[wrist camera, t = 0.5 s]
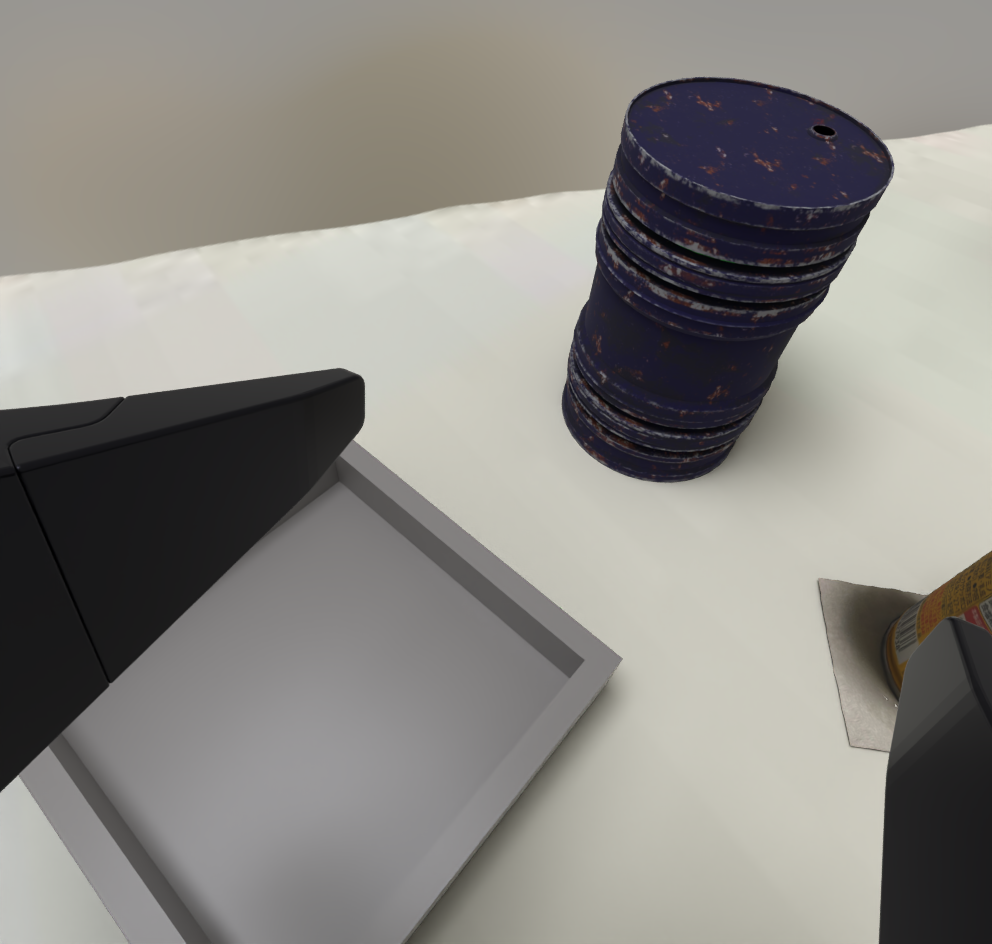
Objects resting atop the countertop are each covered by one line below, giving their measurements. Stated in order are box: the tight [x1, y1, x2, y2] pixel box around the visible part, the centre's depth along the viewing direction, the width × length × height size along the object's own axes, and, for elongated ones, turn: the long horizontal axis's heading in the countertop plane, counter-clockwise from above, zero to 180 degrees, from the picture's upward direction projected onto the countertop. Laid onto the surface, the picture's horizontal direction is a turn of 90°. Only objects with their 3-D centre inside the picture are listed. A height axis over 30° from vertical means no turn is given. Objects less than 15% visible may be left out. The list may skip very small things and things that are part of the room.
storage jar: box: [562, 77, 894, 482], centre depth 29 cm, size 10×10×15 cm
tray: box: [19, 440, 622, 944], centre depth 23 cm, size 16×16×3 cm
